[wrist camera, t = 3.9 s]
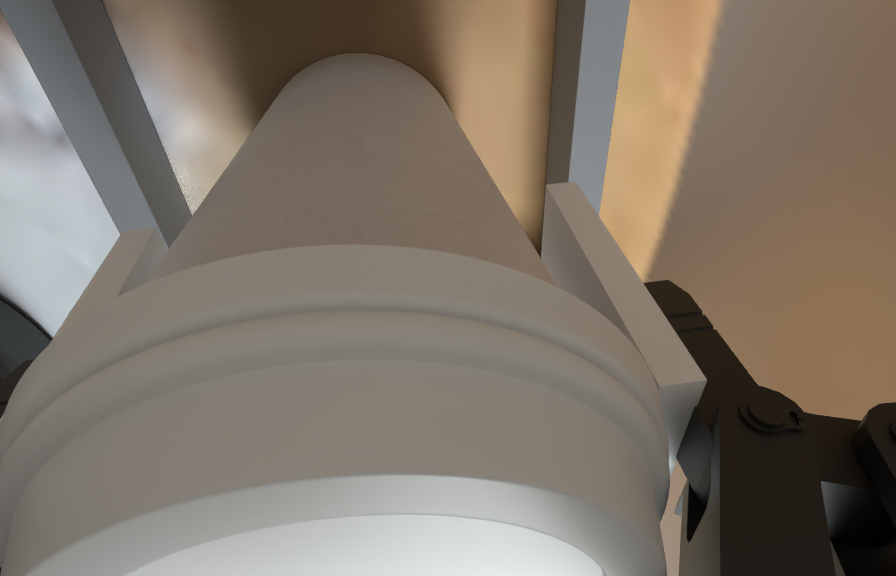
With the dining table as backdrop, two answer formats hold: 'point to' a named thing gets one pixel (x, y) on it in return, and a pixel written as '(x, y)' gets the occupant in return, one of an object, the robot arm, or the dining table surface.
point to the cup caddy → (145, 162)
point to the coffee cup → (340, 377)
